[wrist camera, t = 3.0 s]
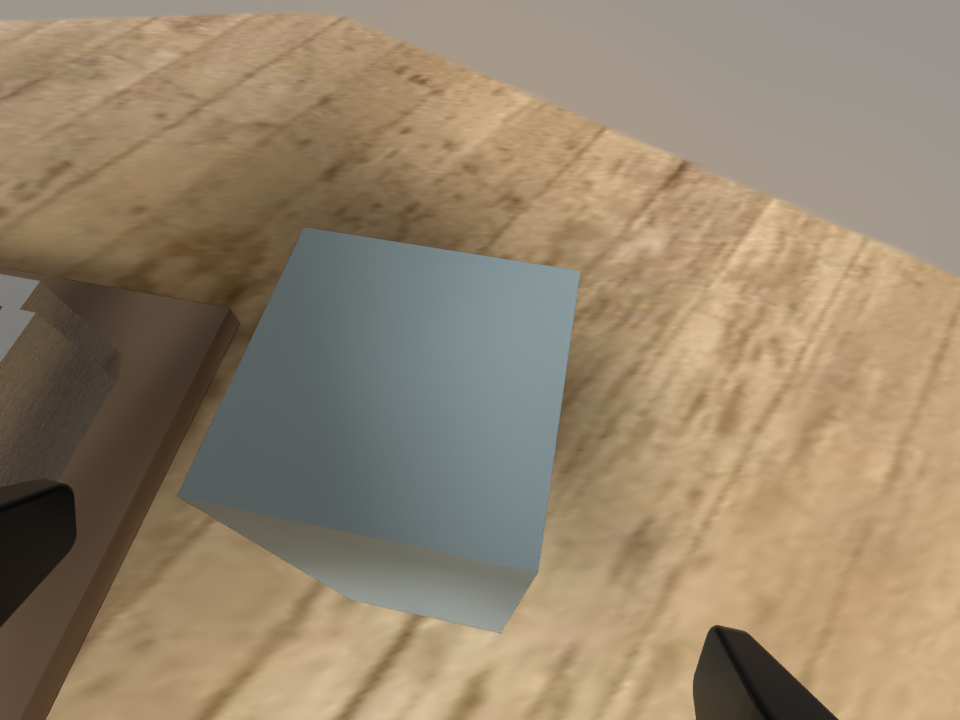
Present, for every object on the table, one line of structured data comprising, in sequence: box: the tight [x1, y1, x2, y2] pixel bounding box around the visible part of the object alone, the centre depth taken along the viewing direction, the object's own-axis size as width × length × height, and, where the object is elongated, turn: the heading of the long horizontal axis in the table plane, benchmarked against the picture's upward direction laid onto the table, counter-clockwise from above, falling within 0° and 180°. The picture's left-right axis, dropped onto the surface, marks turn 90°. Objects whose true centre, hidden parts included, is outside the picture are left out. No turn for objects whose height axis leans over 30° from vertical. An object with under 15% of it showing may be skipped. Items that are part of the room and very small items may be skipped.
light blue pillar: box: [177, 227, 580, 633], centre depth 13 cm, size 4×4×11 cm
